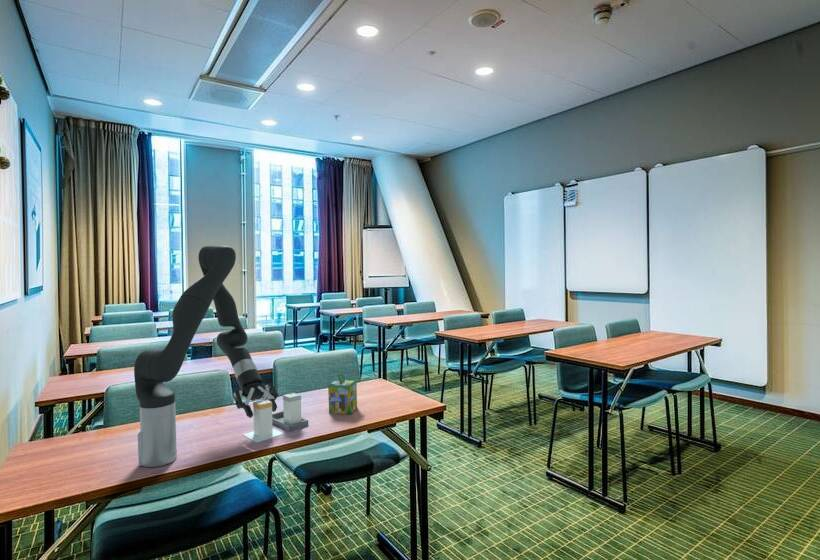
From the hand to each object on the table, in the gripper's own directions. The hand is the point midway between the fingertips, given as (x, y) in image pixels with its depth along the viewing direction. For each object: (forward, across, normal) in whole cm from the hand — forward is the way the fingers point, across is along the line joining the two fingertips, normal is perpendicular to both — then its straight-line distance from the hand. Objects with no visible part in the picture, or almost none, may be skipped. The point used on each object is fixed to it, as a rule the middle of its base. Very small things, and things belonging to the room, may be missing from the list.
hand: (263, 413), depth 151 cm
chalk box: (+5, +34, +6) cm, 35 cm away
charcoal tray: (+2, +12, +9) cm, 15 cm away
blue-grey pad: (+5, 0, +6) cm, 8 cm away
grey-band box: (+5, +12, +6) cm, 14 cm away
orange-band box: (+5, 0, +6) cm, 7 cm away
